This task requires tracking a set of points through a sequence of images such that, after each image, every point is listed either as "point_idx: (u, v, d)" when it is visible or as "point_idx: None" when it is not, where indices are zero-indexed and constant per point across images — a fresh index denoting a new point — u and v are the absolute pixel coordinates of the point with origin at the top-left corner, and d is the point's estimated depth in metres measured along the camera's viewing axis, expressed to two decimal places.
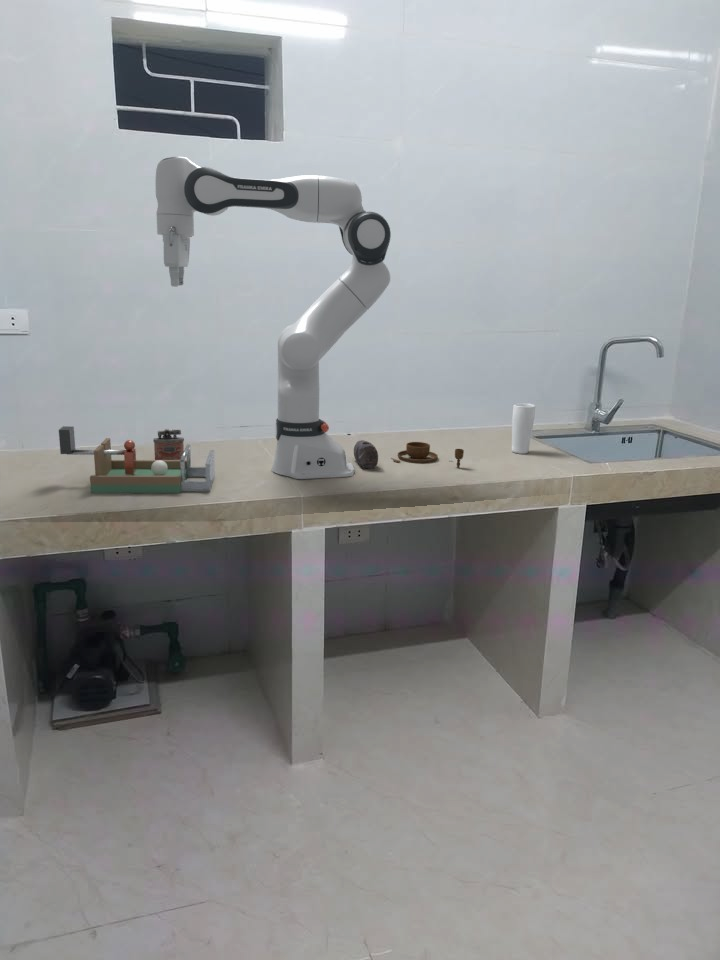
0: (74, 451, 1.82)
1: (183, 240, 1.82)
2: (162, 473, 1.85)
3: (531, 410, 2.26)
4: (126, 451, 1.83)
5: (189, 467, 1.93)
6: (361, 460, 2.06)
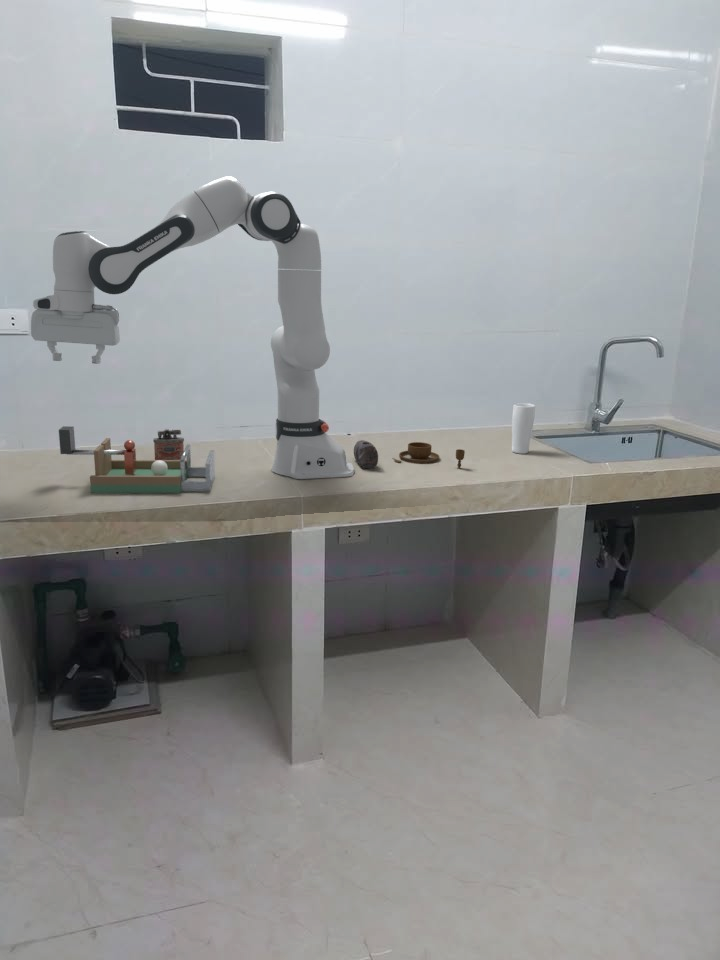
0: (74, 451, 1.82)
1: None
2: (162, 473, 1.85)
3: (531, 410, 2.26)
4: (126, 451, 1.83)
5: (189, 467, 1.93)
6: (361, 460, 2.06)
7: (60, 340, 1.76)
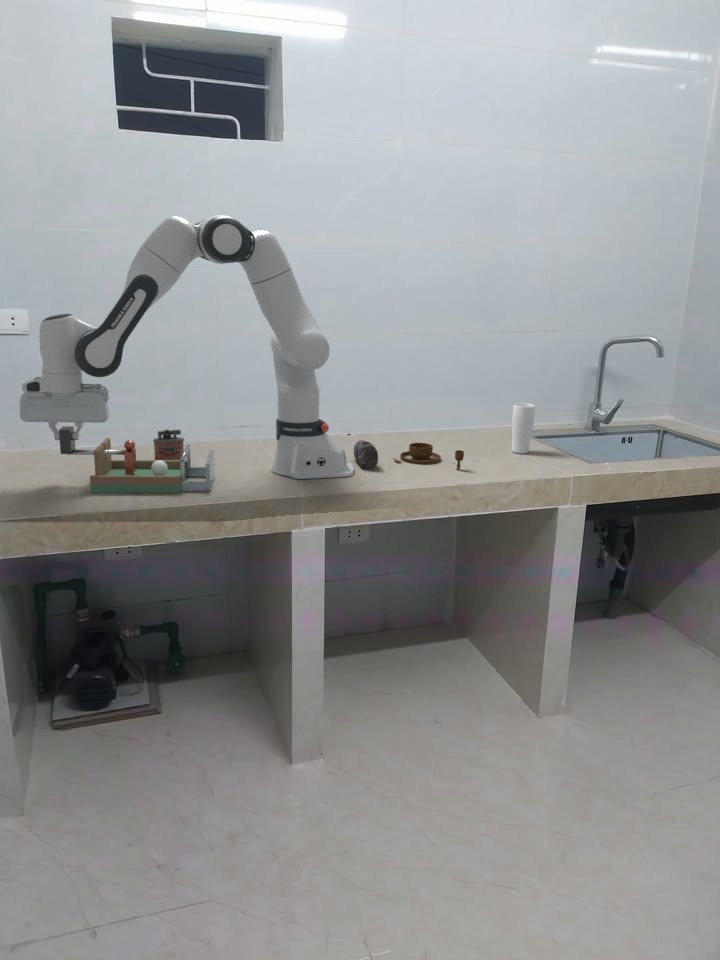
0: (74, 451, 1.82)
1: None
2: (162, 473, 1.85)
3: (531, 410, 2.26)
4: (126, 451, 1.83)
5: (189, 467, 1.93)
6: (361, 460, 2.06)
7: (50, 420, 1.78)
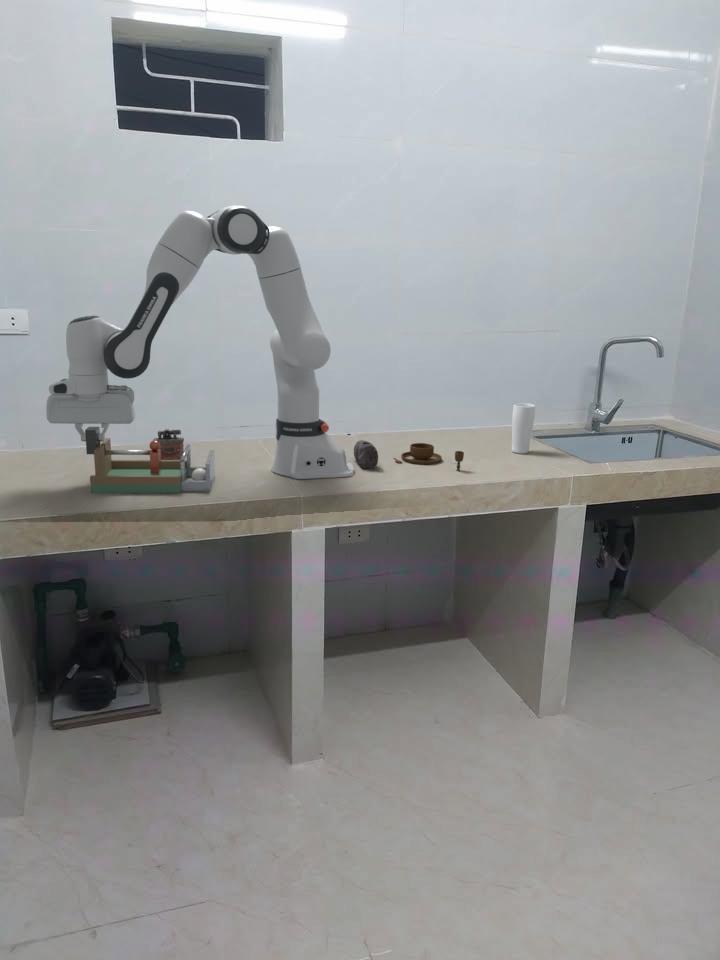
0: None
1: None
2: (203, 474, 1.86)
3: (531, 410, 2.26)
4: (152, 451, 1.84)
5: (189, 467, 1.93)
6: (361, 460, 2.06)
7: (77, 422, 1.79)
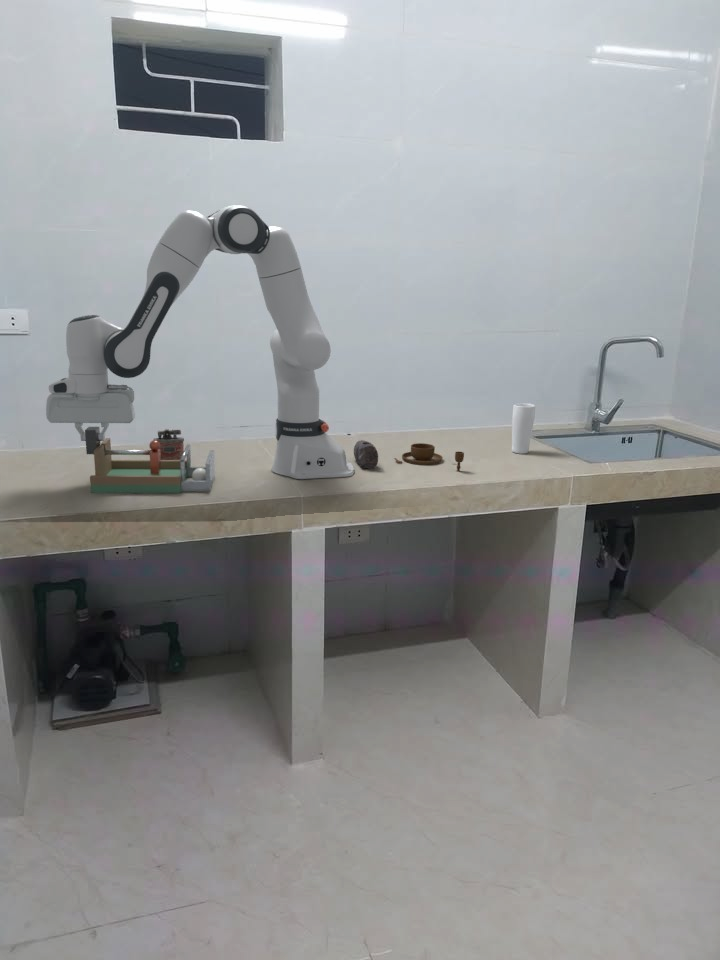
0: None
1: None
2: (204, 475, 1.87)
3: (531, 410, 2.26)
4: (151, 451, 1.84)
5: (189, 467, 1.93)
6: (361, 460, 2.06)
7: (77, 421, 1.79)
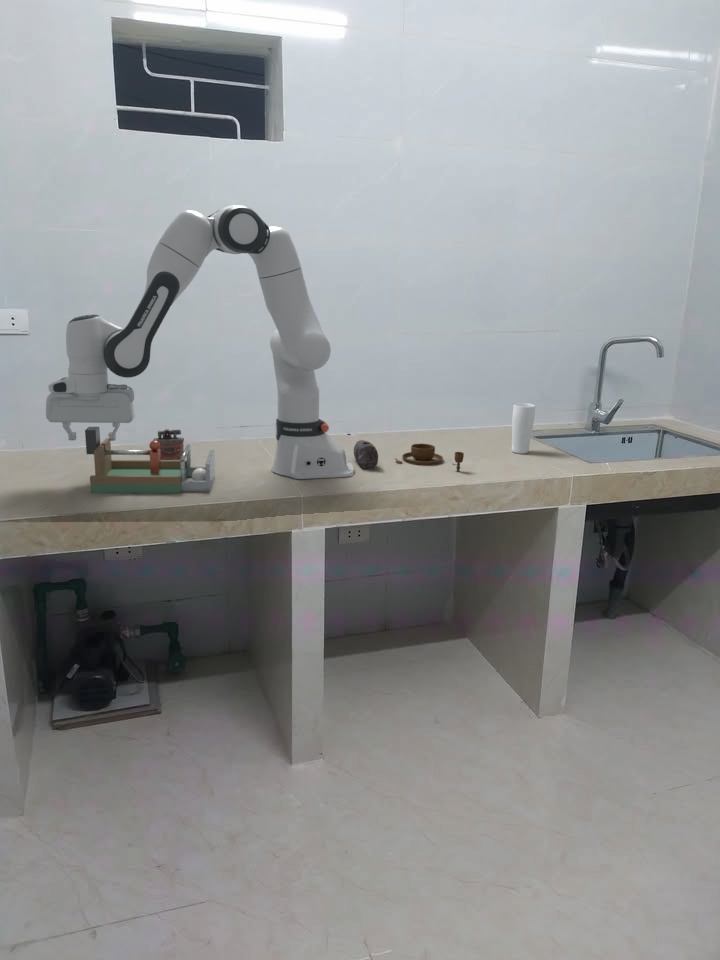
0: None
1: None
2: (204, 475, 1.86)
3: (531, 410, 2.26)
4: (151, 451, 1.84)
5: (189, 467, 1.93)
6: (361, 460, 2.06)
7: (76, 421, 1.79)
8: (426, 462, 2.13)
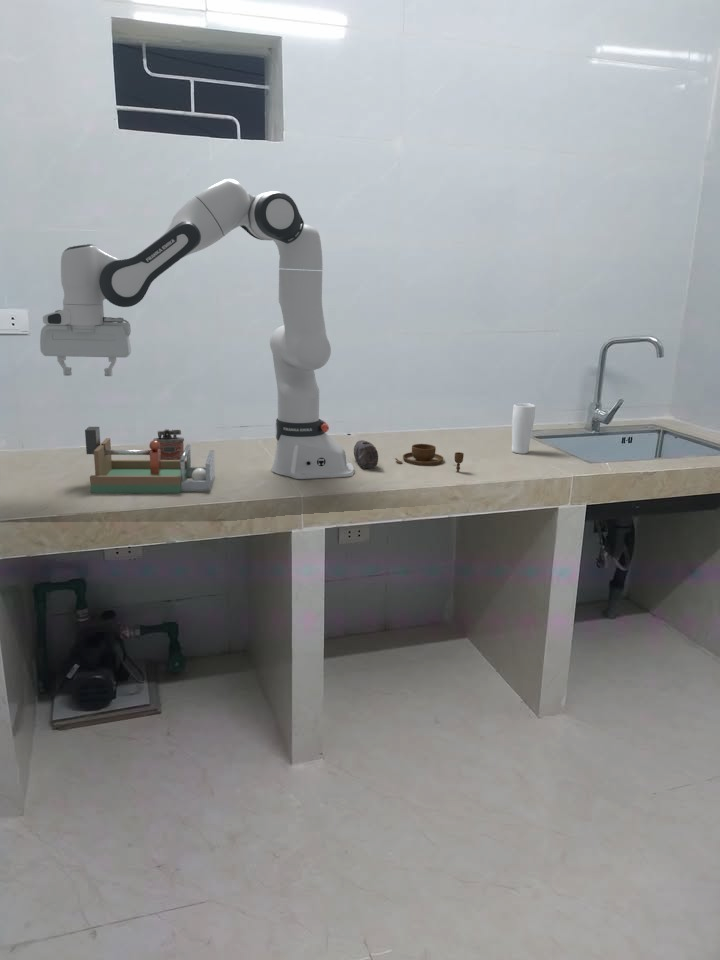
0: None
1: None
2: (203, 474, 1.86)
3: (531, 410, 2.26)
4: (151, 451, 1.84)
5: (189, 467, 1.93)
6: (361, 460, 2.06)
7: (72, 355, 1.75)
8: (426, 462, 2.13)
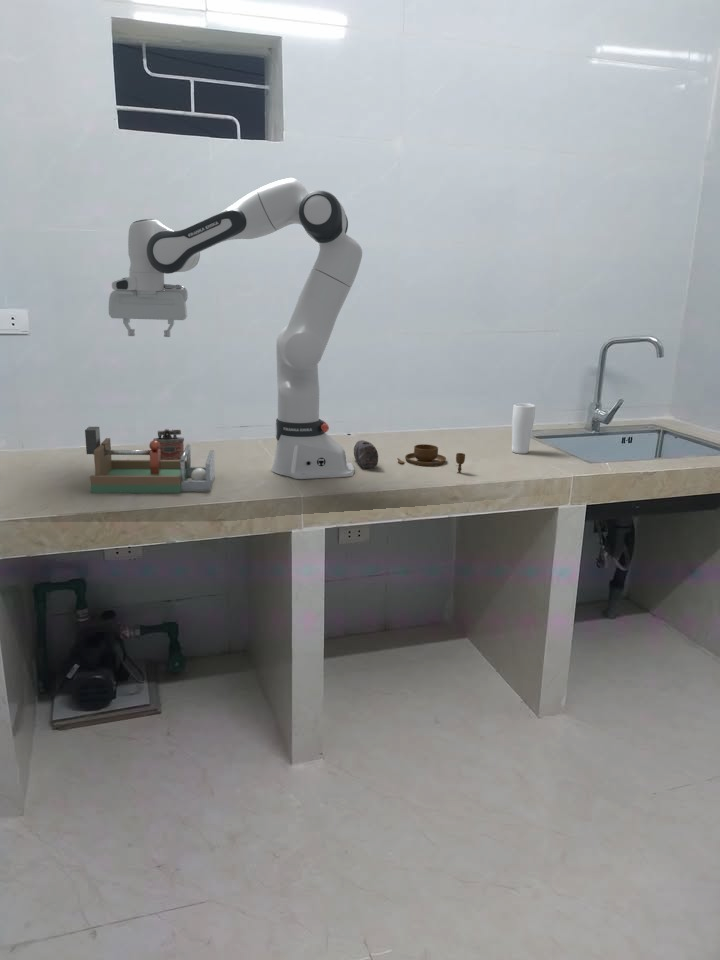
0: None
1: None
2: (203, 474, 1.86)
3: (531, 410, 2.26)
4: (151, 451, 1.84)
5: (189, 467, 1.93)
6: (361, 460, 2.06)
7: (136, 317, 1.98)
8: (428, 463, 2.12)
